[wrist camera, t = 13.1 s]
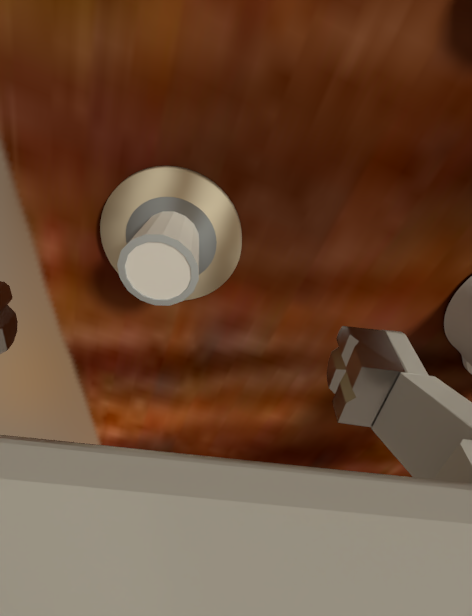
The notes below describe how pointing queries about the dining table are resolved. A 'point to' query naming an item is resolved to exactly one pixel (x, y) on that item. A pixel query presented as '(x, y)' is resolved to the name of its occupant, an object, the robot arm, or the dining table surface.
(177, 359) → the dining table surface
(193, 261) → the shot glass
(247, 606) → the robot arm
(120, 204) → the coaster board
